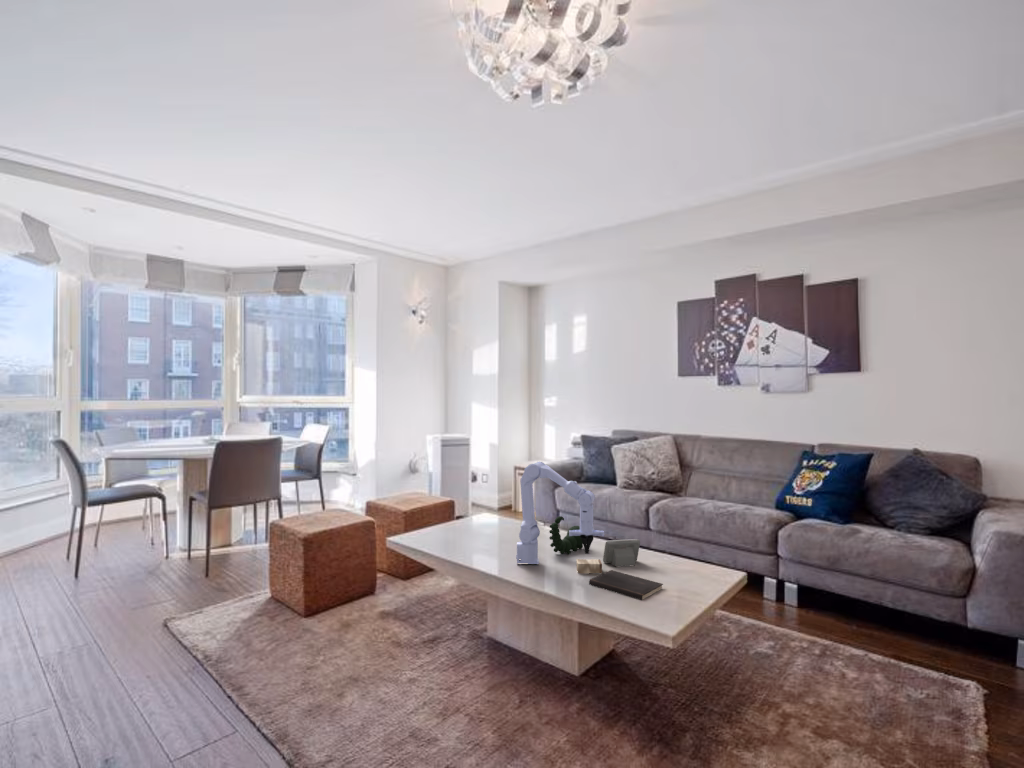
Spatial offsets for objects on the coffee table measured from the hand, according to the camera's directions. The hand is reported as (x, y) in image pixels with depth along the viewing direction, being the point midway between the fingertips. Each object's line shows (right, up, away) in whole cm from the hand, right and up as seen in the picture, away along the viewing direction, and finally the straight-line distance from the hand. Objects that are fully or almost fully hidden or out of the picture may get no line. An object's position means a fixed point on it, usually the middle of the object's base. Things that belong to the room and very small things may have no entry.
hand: (586, 553), depth 217 cm
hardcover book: (+13, -8, -18) cm, 23 cm away
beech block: (-4, -6, 0) cm, 7 cm away
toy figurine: (-4, -8, +27) cm, 29 cm away
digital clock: (+17, -8, +10) cm, 21 cm away
